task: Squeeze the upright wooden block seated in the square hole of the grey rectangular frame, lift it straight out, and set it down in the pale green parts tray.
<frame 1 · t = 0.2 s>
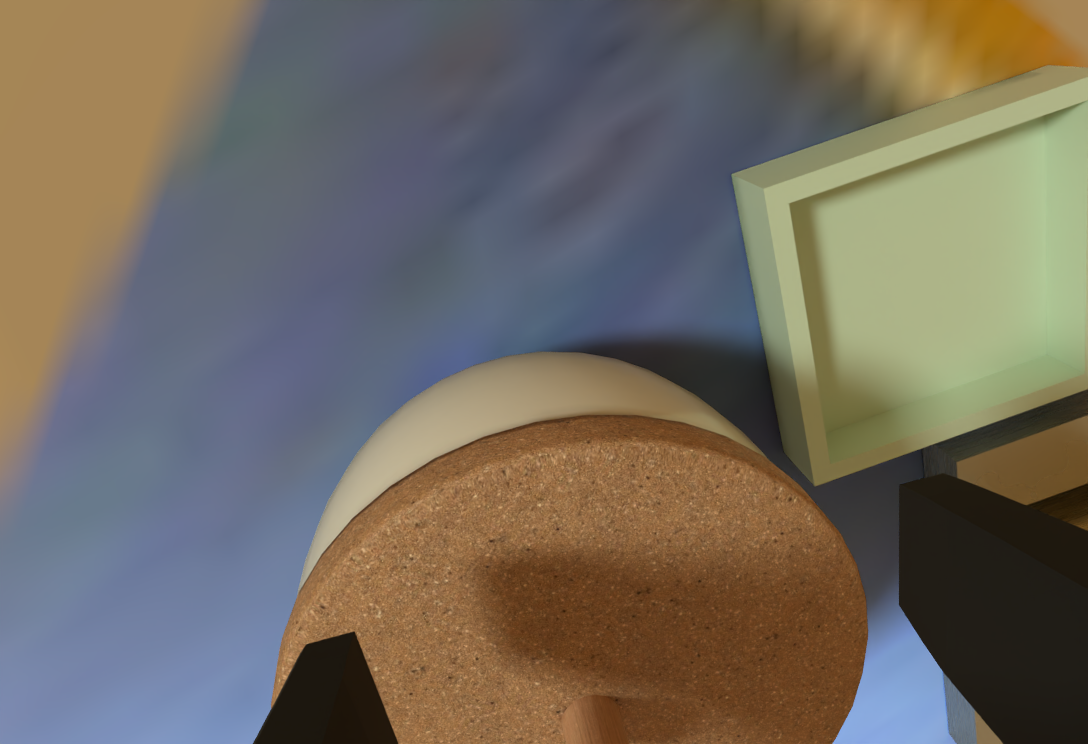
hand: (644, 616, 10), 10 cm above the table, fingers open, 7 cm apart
grey rectangular frame: (1052, 558, 25), on the table
parts tray: (905, 274, 20), on the table
upright wooden block: (1050, 521, 25), resting in grey rectangular frame
lidded jar: (523, 476, 21), on the table
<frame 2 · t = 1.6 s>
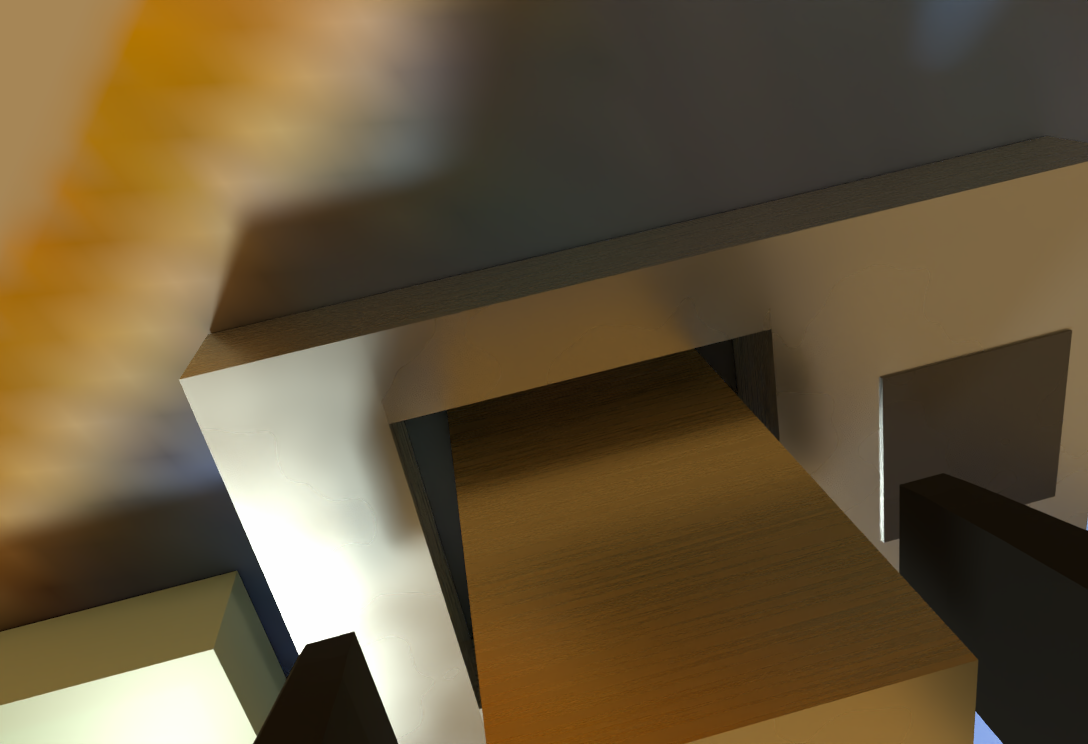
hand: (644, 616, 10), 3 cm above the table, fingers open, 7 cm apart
grey rectangular frame: (675, 457, 13), on the table
upright wooden block: (589, 477, 13), resting in grey rectangular frame
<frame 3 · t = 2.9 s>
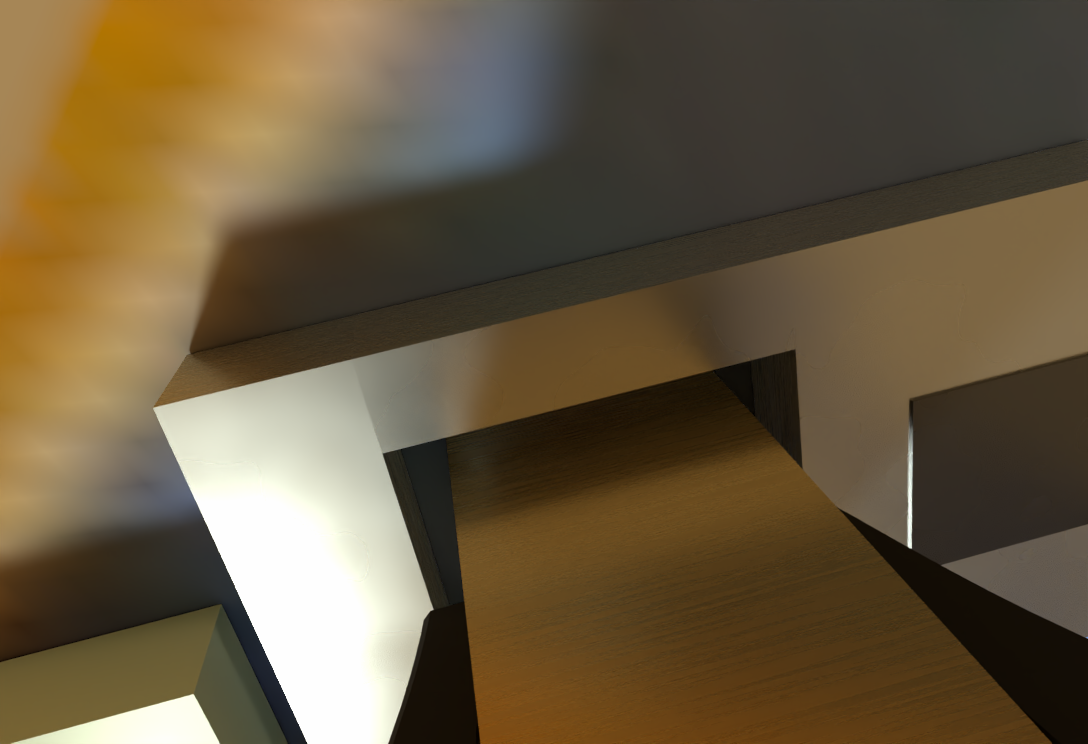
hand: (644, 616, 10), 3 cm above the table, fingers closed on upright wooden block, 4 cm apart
grey rectangular frame: (688, 481, 13), on the table
upright wooden block: (598, 504, 12), resting in grey rectangular frame, touching gripper
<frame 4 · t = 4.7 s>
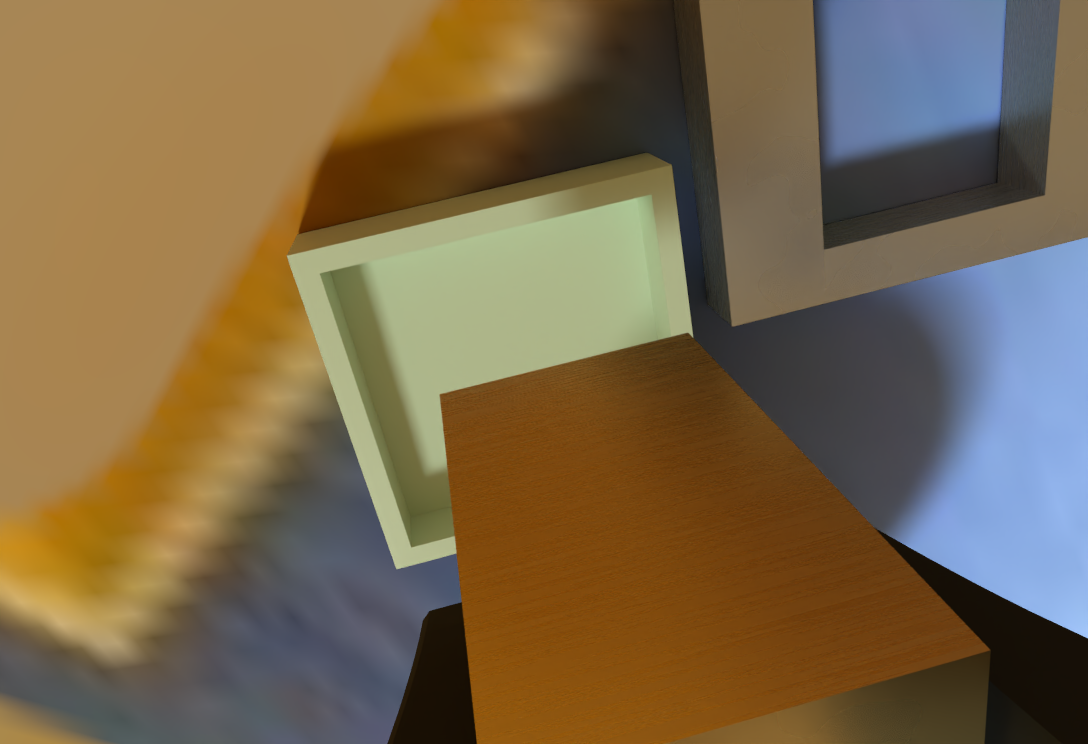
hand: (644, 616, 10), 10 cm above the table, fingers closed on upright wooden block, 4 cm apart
grey rectangular frame: (955, 80, 18), on the table
parts tray: (512, 353, 19), on the table
upright wooden block: (586, 470, 13), point 7 cm above the table, touching gripper
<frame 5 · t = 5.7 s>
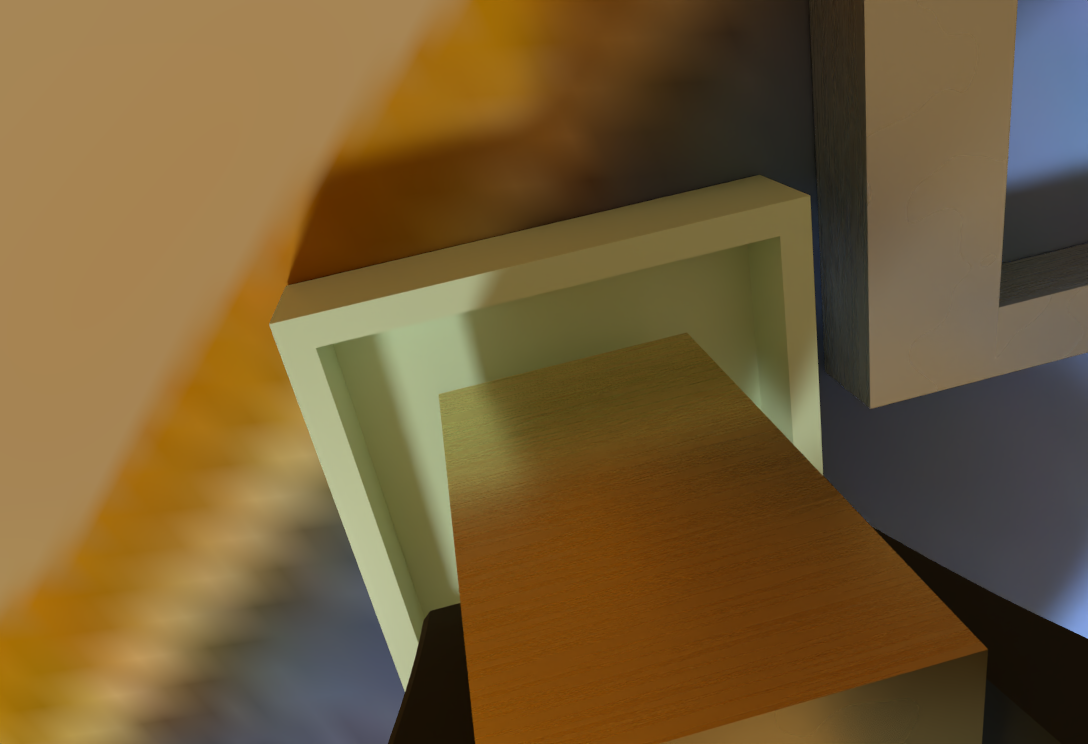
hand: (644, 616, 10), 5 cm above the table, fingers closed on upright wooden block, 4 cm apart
parts tray: (570, 436, 15), on the table
upright wooden block: (585, 470, 13), point 2 cm above the table, touching gripper
when the fingers open (5 cm above the table, at t = 6.6 s): upright wooden block stays where it is, resting on parts tray.
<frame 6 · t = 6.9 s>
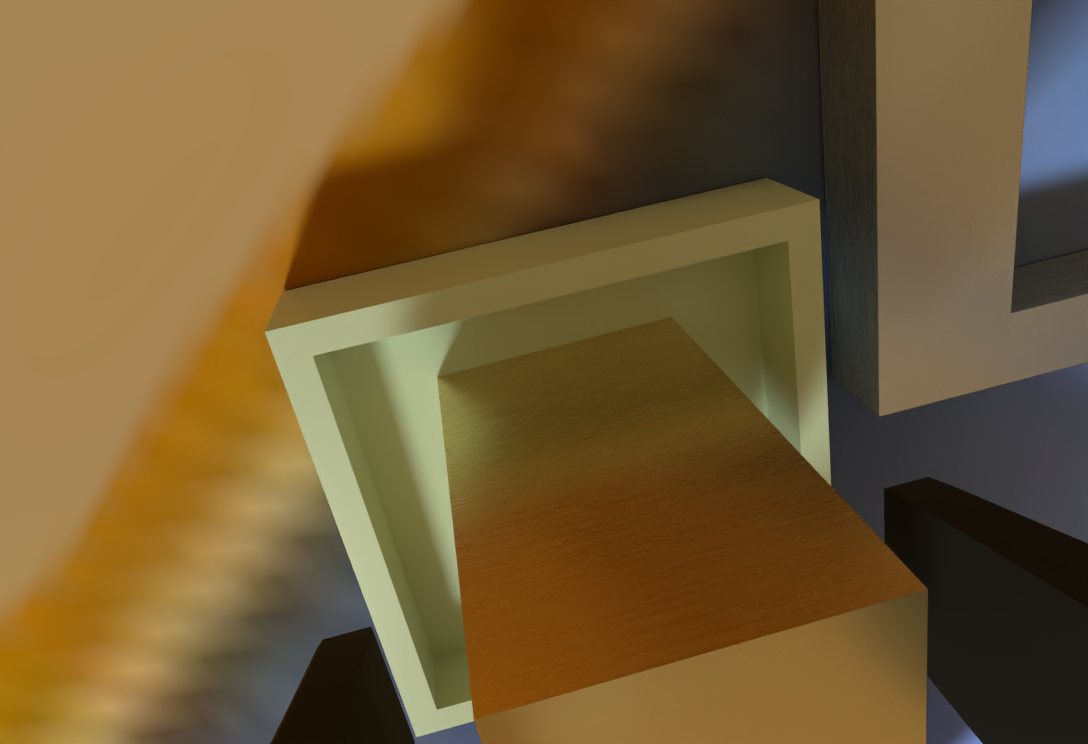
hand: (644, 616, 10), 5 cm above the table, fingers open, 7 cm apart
parts tray: (573, 444, 14), on the table
upright wooden block: (577, 448, 14), resting on parts tray
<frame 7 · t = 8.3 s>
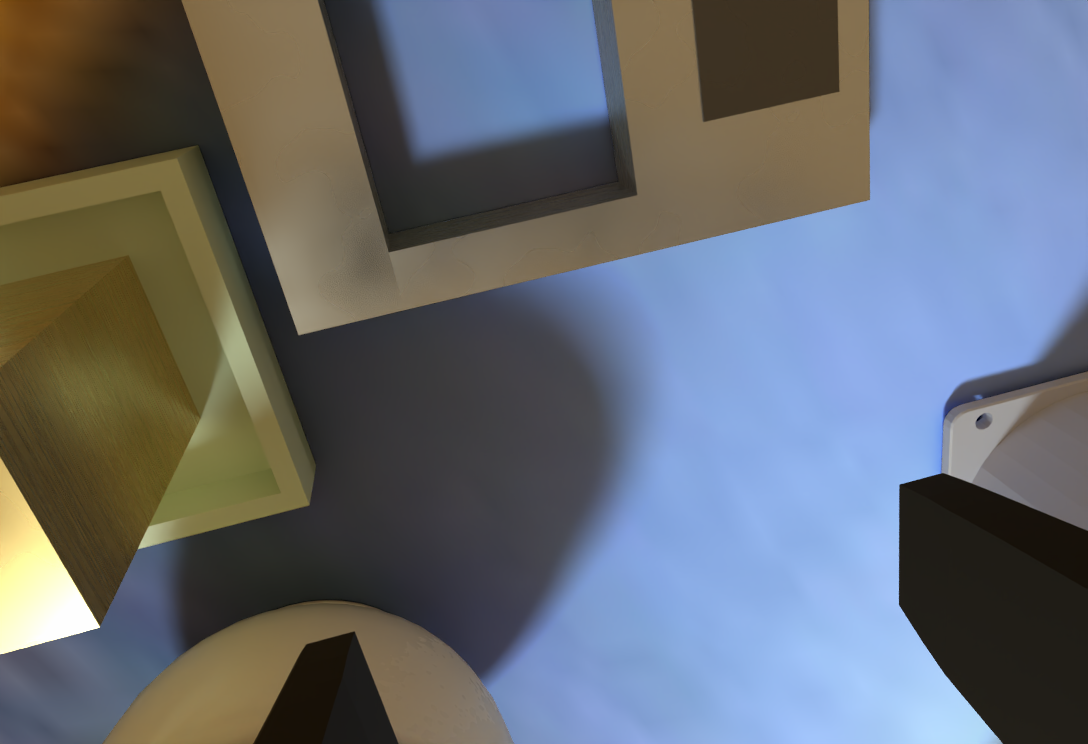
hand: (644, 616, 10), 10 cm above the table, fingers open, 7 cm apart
grey rectangular frame: (546, 70, 17), on the table
parts tray: (86, 362, 18), on the table
upright wooden block: (74, 363, 17), resting on parts tray
lidded jar: (325, 679, 23), on the table
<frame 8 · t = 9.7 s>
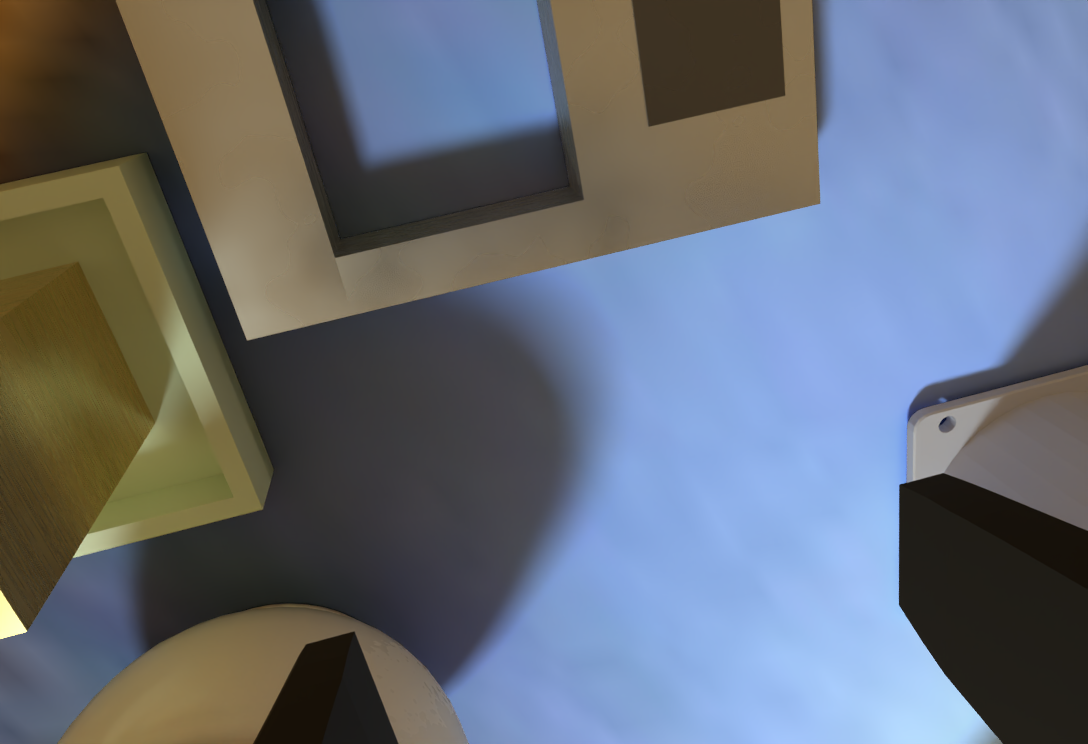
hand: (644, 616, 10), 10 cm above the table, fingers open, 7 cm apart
grey rectangular frame: (494, 75, 17), on the table
parts tray: (40, 367, 18), on the table
upright wooden block: (27, 368, 17), resting on parts tray
lidded jar: (290, 681, 23), on the table
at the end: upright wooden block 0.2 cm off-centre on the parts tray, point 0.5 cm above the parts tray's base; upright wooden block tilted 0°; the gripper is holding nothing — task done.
